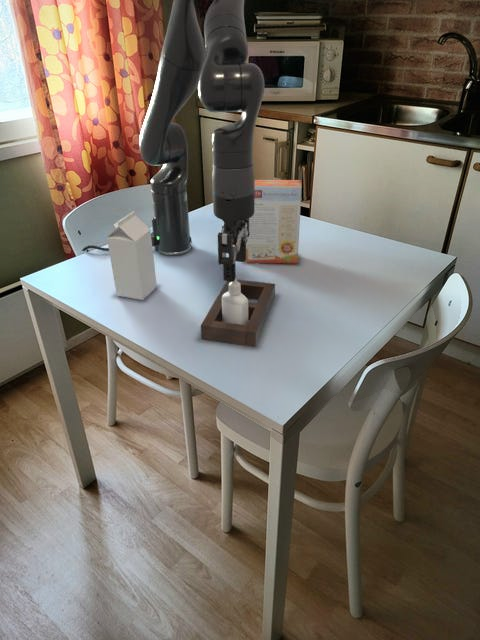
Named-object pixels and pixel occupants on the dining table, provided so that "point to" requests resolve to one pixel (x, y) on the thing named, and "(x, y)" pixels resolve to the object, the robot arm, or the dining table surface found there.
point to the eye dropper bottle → (234, 305)
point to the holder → (256, 314)
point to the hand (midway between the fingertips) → (235, 270)
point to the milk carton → (132, 258)
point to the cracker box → (275, 222)
